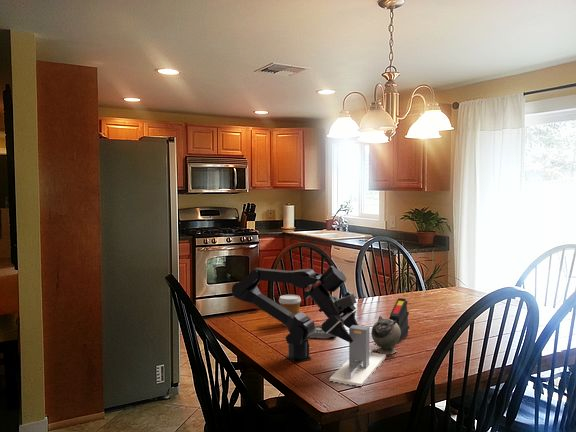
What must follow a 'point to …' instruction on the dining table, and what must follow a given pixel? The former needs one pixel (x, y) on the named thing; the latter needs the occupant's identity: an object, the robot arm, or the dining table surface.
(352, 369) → the metal rail
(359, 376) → the mounting board
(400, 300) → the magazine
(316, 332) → the graphics card
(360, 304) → the dining table surface
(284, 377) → the dining table surface
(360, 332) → the module
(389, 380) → the dining table surface
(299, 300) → the disposable coffee cup
